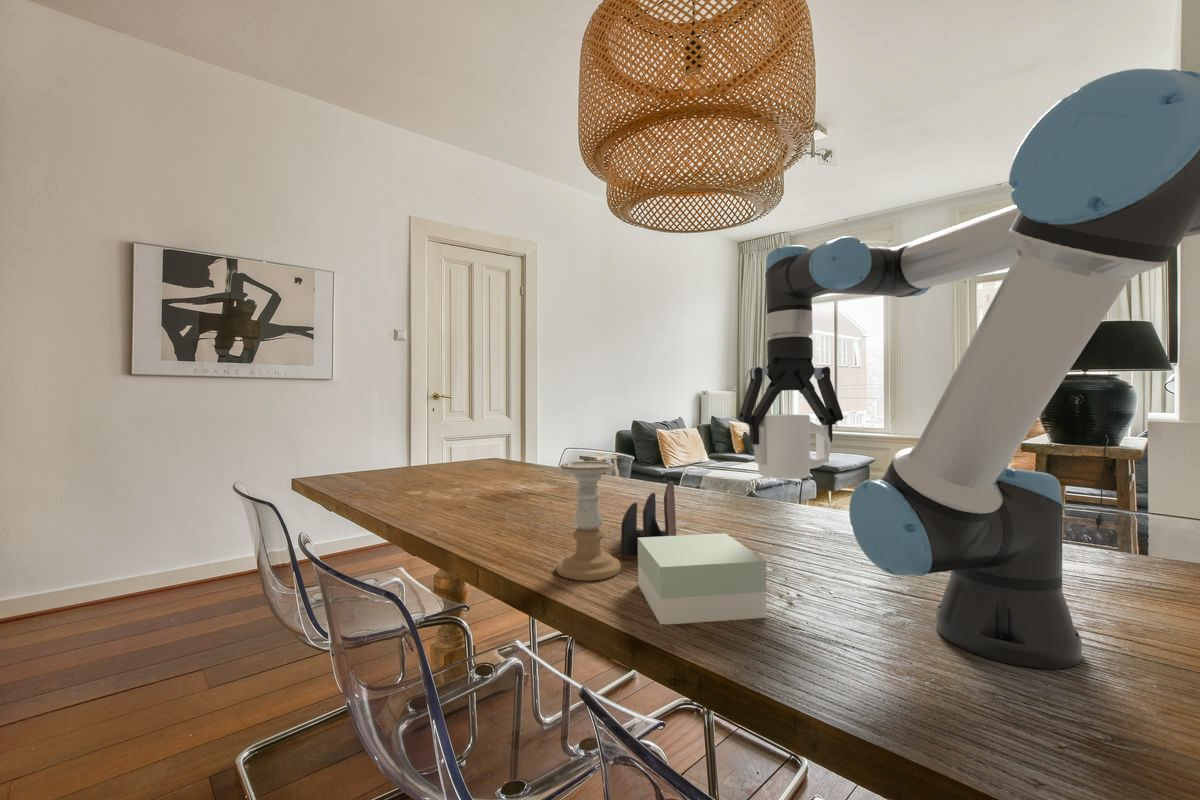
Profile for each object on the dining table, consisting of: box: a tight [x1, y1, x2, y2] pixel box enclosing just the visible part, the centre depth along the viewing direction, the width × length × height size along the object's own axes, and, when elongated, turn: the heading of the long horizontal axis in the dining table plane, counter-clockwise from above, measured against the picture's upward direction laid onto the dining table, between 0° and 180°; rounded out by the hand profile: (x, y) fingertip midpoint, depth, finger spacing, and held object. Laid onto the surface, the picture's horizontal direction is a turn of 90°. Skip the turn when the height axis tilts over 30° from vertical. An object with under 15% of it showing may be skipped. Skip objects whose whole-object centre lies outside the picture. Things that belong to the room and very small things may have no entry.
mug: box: [757, 413, 832, 480], centre depth 91 cm, size 9×12×11 cm
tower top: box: [637, 533, 767, 598], centre depth 84 cm, size 16×16×4 cm
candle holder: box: [555, 460, 622, 582], centre depth 99 cm, size 12×12×20 cm
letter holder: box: [620, 480, 677, 561], centre depth 113 cm, size 10×20×14 cm, turn 168°
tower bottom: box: [637, 563, 767, 626], centre depth 84 cm, size 16×16×4 cm
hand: (791, 462), depth 91 cm, fingers closed on mug, 11 cm apart
